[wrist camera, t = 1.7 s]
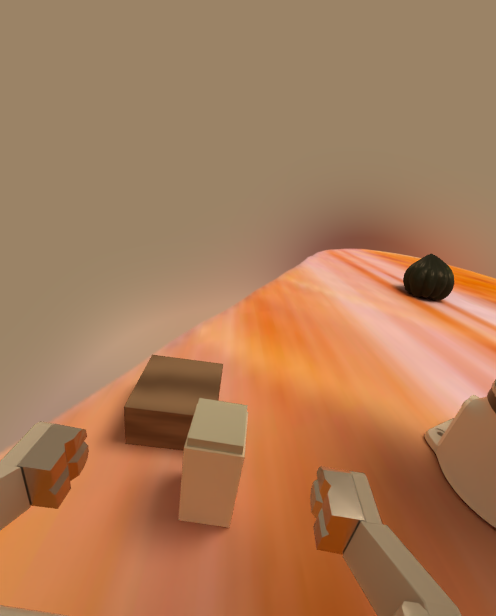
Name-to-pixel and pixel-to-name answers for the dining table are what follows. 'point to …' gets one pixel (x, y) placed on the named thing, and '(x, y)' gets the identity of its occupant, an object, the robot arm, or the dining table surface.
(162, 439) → the walnut block
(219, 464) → the tall cream box
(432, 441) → the robot arm
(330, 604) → the dining table surface
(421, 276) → the squash
